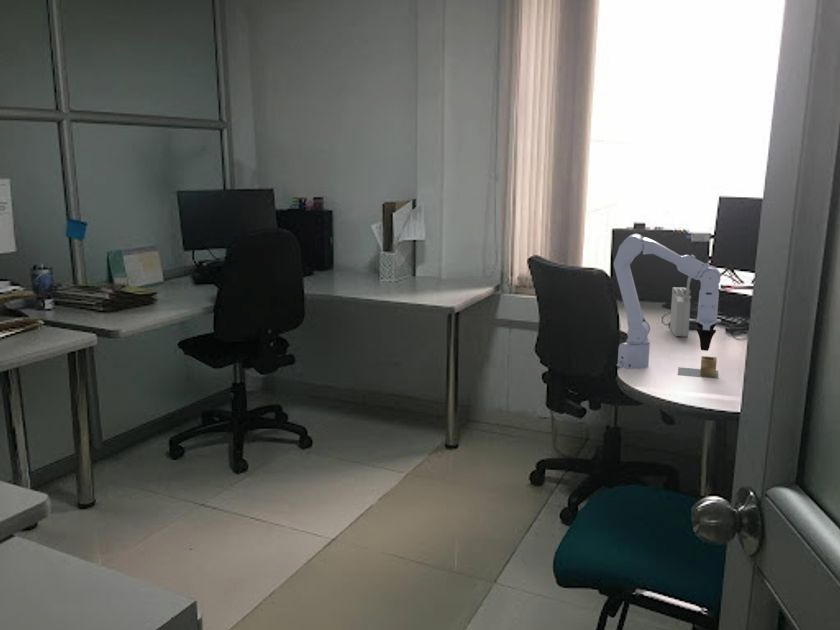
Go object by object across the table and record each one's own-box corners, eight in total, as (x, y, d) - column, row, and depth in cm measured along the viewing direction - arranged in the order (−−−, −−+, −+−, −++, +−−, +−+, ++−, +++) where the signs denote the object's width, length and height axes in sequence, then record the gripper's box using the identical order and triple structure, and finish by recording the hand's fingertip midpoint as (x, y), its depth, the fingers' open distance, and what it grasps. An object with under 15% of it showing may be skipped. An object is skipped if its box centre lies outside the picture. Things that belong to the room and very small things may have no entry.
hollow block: (700, 374, 225) (701, 359, 224) (700, 371, 229) (701, 356, 228) (715, 376, 223) (716, 360, 222) (715, 372, 227) (716, 357, 226)
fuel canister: (690, 338, 272) (694, 274, 267) (676, 338, 273) (680, 274, 268) (682, 329, 287) (686, 268, 282) (669, 329, 288) (673, 267, 282)
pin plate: (677, 378, 225) (677, 375, 225) (678, 370, 233) (678, 367, 233) (718, 381, 221) (718, 378, 221) (717, 373, 229) (718, 370, 229)
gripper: (721, 310, 216) (718, 354, 219) (721, 301, 229) (718, 342, 232) (697, 309, 219) (693, 352, 222) (698, 300, 232) (695, 340, 235)
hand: (704, 347), depth 227 cm, fingers open, 7 cm apart
